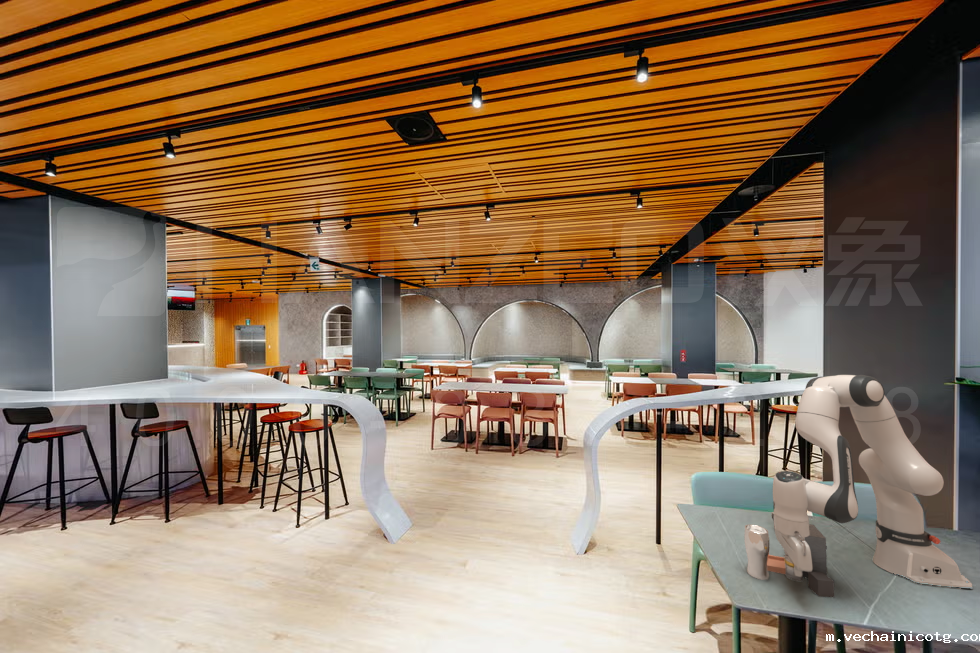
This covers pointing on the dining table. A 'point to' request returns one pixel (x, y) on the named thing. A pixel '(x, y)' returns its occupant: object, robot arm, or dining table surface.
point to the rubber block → (821, 584)
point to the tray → (776, 564)
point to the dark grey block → (817, 551)
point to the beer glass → (757, 551)
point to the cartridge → (791, 570)
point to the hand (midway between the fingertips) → (793, 569)
